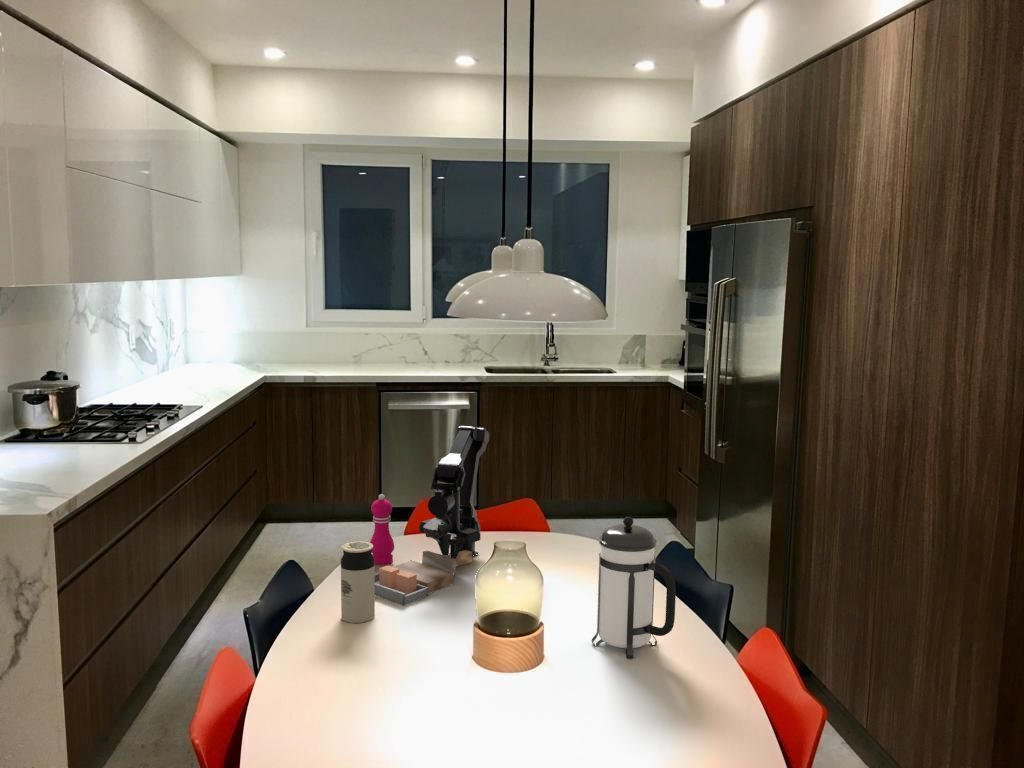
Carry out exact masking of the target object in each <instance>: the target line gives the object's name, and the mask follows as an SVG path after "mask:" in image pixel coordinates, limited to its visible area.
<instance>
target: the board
mask: <svg viewBox="0 0 1024 768" xmlns="http://www.w3.org/2000/svg"><path fill="white" fill-rule="evenodd" d="M393 567H394V568H398V569H399V573H400V572H403V571H406V572H410V573H413V574H416V575H417V584H419V585H423V586H426V587H429V594H431V592H432V593H434V592H436V590H437V591H438V590H439V591H440V590H441V588H442V589H444V588H447V587H449V586H451V584H452V585H454V574H453V573H451V572H448V571H444V570H441V569H438V568H435V567H431V566H428V565H425V564H422V562H421V563H420V562H418V561H415V560H412V559H411V560H409V561H406V562H402V563H400V564H397V565H395V566H393ZM446 586H447V587H446Z"/></svg>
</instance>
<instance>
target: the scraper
mask: <svg viewBox="0 0 1024 768" xmlns="http://www.w3.org/2000/svg"><path fill="white" fill-rule="evenodd" d="M472 562H473V556H472V551H468V550H464V551H460V552H459V553H458V555H457V557H456V559H454V558H451V556H450V554H448V555H445V556H444V555H442V554H440V553H438V552H437V553H436V552H433V551H430V550H424V551H422V562H421V563H422V564H425V565H428V566H431V567H435V568H438V569H441V570H444V571H448V572H451V573H453V575H454V574H456V567H458V566H463V565H466V564H469V563H472Z"/></svg>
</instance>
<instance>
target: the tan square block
mask: <svg viewBox="0 0 1024 768" xmlns="http://www.w3.org/2000/svg"><path fill="white" fill-rule="evenodd" d="M378 573H379V584H380V585H382V586H385V587H388V588H394V587H396V574H397V573H399V569H398V568H394V566H391V565H389V564H386V565H384V566H382V567H379V570H378Z"/></svg>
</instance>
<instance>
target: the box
mask: <svg viewBox="0 0 1024 768" xmlns="http://www.w3.org/2000/svg"><path fill="white" fill-rule="evenodd" d="M374 584H375V595H376V596H375V597H378V596H379V598H381V599H383V600H384V599H385V600H386V599H387V600H386V601H390V602H393V603H395V604H398V605H401V606H403V607H405V606H406V605H409V604H412V603H414V602H417V601H420V600H421V599H423V598H426V597H428V596H429V597H430V593H429V587H426V586H423V585H419V584H417V591H416V592H413V593H410V594H405V593H402V592H400V591H397V590H396V587H394V588H388V587H385V586H382V585H380V584H379V572H377V573H374Z"/></svg>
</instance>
